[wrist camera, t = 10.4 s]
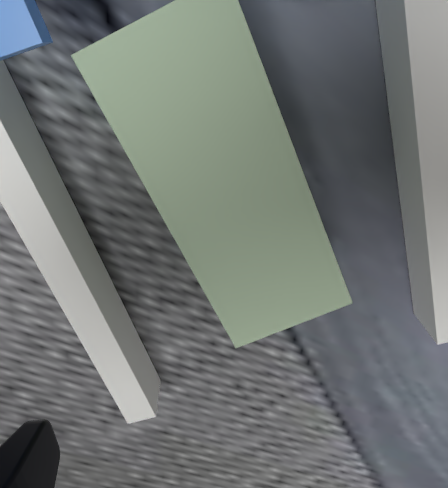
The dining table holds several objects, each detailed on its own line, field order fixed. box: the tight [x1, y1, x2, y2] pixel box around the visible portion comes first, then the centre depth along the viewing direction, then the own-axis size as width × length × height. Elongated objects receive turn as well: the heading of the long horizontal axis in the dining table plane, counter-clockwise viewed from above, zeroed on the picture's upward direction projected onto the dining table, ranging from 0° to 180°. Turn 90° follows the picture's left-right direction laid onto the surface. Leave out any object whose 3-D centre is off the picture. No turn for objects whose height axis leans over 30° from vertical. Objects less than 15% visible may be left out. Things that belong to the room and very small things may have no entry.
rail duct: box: [0, 0, 448, 424], centre depth 16 cm, size 21×32×6 cm, turn 107°
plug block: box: [71, 0, 352, 348], centre depth 16 cm, size 12×5×4 cm, turn 24°
